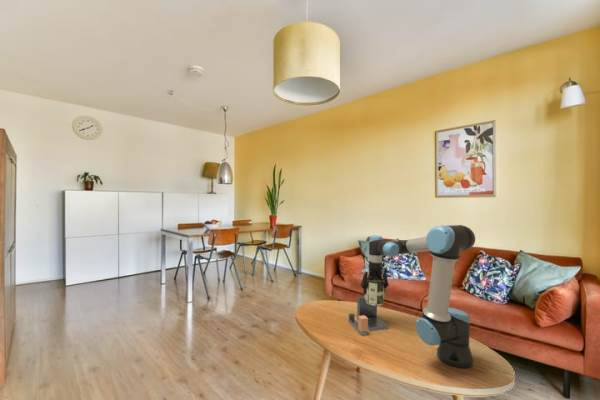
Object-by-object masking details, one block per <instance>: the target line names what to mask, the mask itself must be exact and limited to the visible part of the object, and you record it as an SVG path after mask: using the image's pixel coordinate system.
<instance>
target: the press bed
mask: <svg viewBox="0 0 600 400" xmlns="http://www.w3.org/2000/svg"><path fill="white" fill-rule="evenodd" d="M356 300H357V301H356V302H357V303H356V305H357V306H356V310H357V312H356V320H358V316H363V315H365V316H366V317H367V318H368V331H370V332H374V331H382V330H389V324H387V323H386V322H385V321H383V320H382V319H381V318H380V317H379V316H378V306H375V305H370V304H367V303H366V299H365V295H363V296H357V299H356Z"/></svg>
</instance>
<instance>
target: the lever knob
mask: <svg viewBox="0 0 600 400" xmlns="http://www.w3.org/2000/svg"><path fill="white" fill-rule="evenodd" d="M357 322H358V329H359V330H360V331H361V332H363V331H367V332H368V331H369V330H368V318H367V317H366V316H365V315H363V316H358V319H357Z"/></svg>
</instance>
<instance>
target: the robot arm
mask: <svg viewBox="0 0 600 400" xmlns="http://www.w3.org/2000/svg"><path fill="white" fill-rule="evenodd" d="M383 239H384V238H383V236H382V235H376V234H375V235H374V234H372V235H369V239H368V249H369V250H368V270H363V276H362V279H361V281H360V287H361V288H362V289H363V294H364V296H365V299H366V300H368V289H367V287H368V282H367V281H366V279H367V277H368V280H372V279H373V278H375V277H378V279H380V280H382V279H383V280H384V281H383V300H384V299H385V293H386V289H387V287H389V281H388V277H387V270H385V269H382V267H383V266H382V265H383V263H382V262H383V255H384V256H387V257H396V256H397V255H406V254H409V255H410V254H414V253H420V252H428V251H429V254H430V256H431V257H432V265H431V273H430V280H429V288H428V289H429V291H428V294H427V295H428V297H427V304H426V307H424V308H423V309H422V314H421V317H419V318H417V319H416V321H415V330H416V333H417V335H418V337H419V339H421V341H422V342H423V343H425V344H426V345H428V346H438V347H437V349H436V356H437V358H438V359H439V360H440V361H441V362H442V363H445V364H446V365H449V366H450V367H451V366H452V367H454V368H460V369H469V368H471V367H473V365H474V357H473V355H472V351H471V347H470V331H471V330H470V329H471V328H470V327H471V325H470V324H471V319H470V315H469V314H468V313H467V312H466V311H463V310H460V309H458V308H454V307H449V306H450V300H451V291H452V286H453V285H452V284H453V278H454V270H455V263H456V262H457V261H459V260H460V257H461V256H460V255H461V252H465V251H468V250H470V249H471V248H473V246H474V245H475V243H476V235H475V232H474V231H473V230H472V229H471V228H470V227H468V226H466V225H464V224H463V225H462V224H454V225H450V224H449V225H443V224H441V225H439V226H437V225H436V226H434V227H432V228H431V229H429V230H428V232H427V234H426V236H422V237H415V238H411V239H410V238H409V239H403V240H390V241H387V240H383Z"/></svg>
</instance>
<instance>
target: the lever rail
mask: <svg viewBox="0 0 600 400" xmlns="http://www.w3.org/2000/svg"><path fill="white" fill-rule="evenodd" d="M348 323H349V324H350V325H351V327H353V328H354V329H355V330H356V331H357V332H358V334H360V335H361V336H362V337H363V336H368V331H363V332H361V331H360V330H359V329H358V320H357V319H355V313H353V312H352V313H348Z"/></svg>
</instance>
